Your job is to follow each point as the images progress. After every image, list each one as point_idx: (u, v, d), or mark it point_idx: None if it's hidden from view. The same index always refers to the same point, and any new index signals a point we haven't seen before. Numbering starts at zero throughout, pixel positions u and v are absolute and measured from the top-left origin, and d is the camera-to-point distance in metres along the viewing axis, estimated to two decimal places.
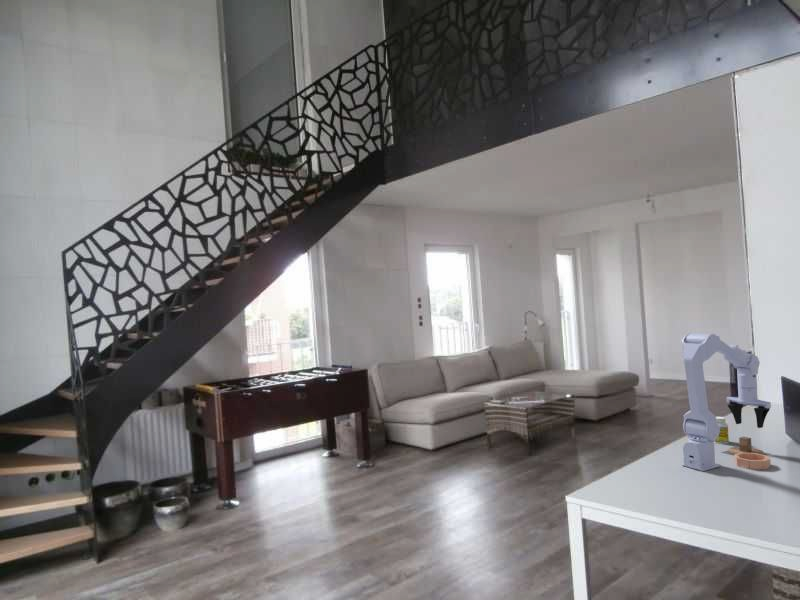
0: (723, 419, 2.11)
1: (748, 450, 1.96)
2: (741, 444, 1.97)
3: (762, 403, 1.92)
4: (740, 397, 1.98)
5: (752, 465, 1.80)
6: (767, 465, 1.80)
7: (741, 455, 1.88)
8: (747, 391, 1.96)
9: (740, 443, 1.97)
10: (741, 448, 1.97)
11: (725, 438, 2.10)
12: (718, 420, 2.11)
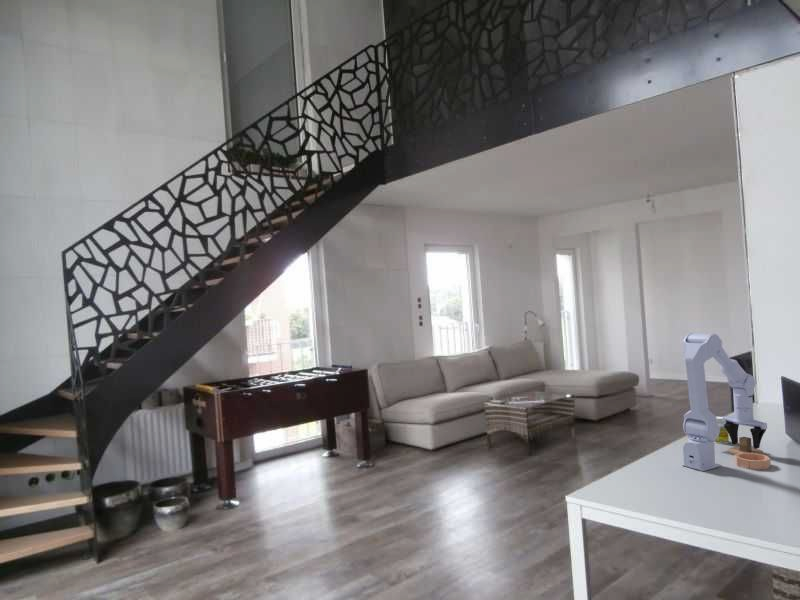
0: None
1: (748, 450, 1.96)
2: (741, 444, 1.97)
3: (758, 424, 1.91)
4: (736, 417, 1.97)
5: (752, 465, 1.80)
6: (767, 465, 1.80)
7: (741, 455, 1.88)
8: (743, 411, 1.94)
9: (740, 443, 1.97)
10: (741, 448, 1.97)
11: (725, 438, 2.10)
12: (718, 420, 2.11)
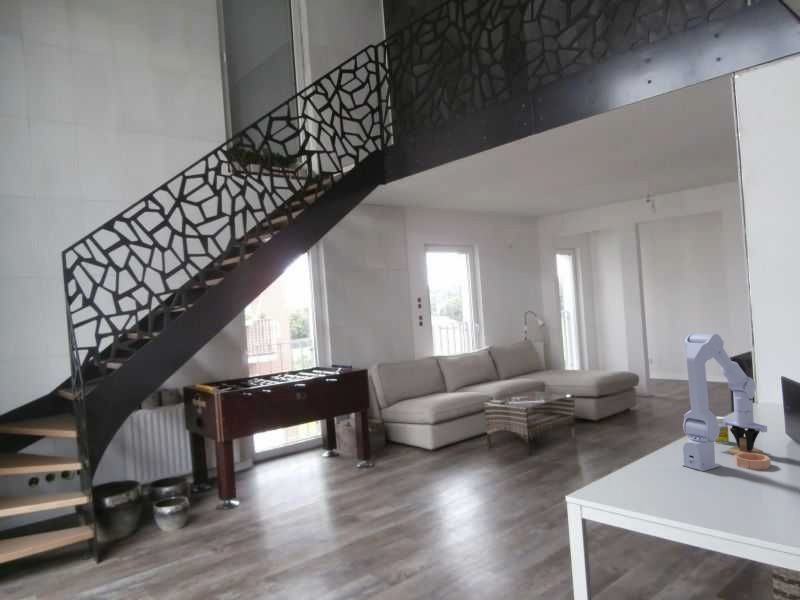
0: (723, 419, 2.11)
1: (748, 450, 1.96)
2: (741, 444, 1.97)
3: (758, 427, 1.91)
4: (736, 420, 1.97)
5: (752, 465, 1.80)
6: (767, 465, 1.80)
7: (741, 455, 1.88)
8: (743, 414, 1.94)
9: (740, 443, 1.97)
10: (741, 448, 1.97)
11: (725, 438, 2.10)
12: (718, 420, 2.11)
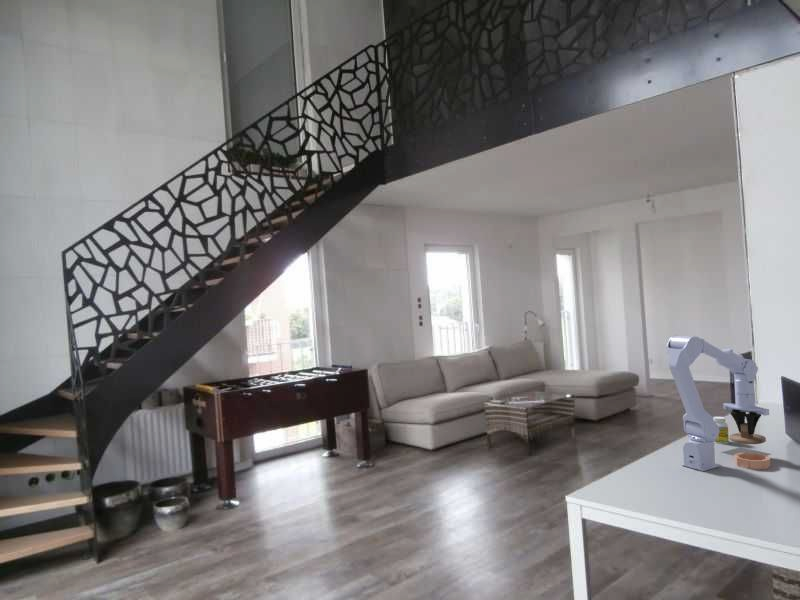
0: (723, 419, 2.11)
1: (750, 436, 1.90)
2: (742, 430, 1.92)
3: (760, 410, 1.86)
4: (737, 404, 1.91)
5: (752, 465, 1.80)
6: (767, 465, 1.80)
7: (741, 455, 1.88)
8: (745, 397, 1.89)
9: (741, 429, 1.92)
10: (742, 435, 1.92)
11: (725, 438, 2.10)
12: (718, 420, 2.11)
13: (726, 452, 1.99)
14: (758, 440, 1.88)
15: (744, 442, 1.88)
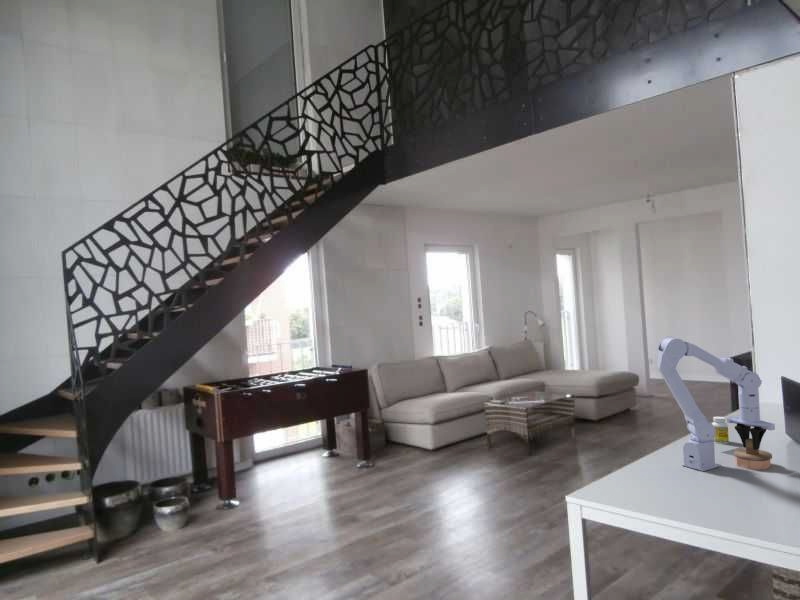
0: (723, 419, 2.11)
1: (755, 453, 1.83)
2: (748, 446, 1.84)
3: (765, 425, 1.78)
4: (741, 418, 1.84)
5: (752, 465, 1.80)
6: (767, 465, 1.80)
7: None
8: (749, 411, 1.82)
9: (746, 445, 1.84)
10: (748, 451, 1.84)
11: (725, 438, 2.10)
12: (718, 420, 2.11)
13: (726, 452, 1.99)
14: (764, 457, 1.80)
15: (749, 458, 1.80)
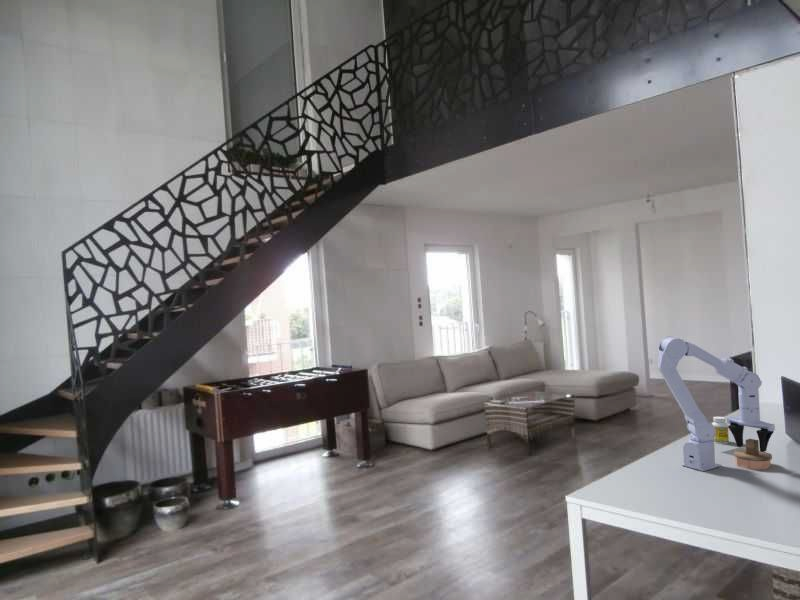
0: (723, 419, 2.11)
1: (755, 453, 1.83)
2: (748, 447, 1.84)
3: (765, 425, 1.78)
4: (741, 418, 1.84)
5: (752, 465, 1.80)
6: (767, 465, 1.80)
7: None
8: (749, 412, 1.82)
9: (747, 446, 1.84)
10: (748, 451, 1.84)
11: (725, 438, 2.10)
12: (718, 420, 2.11)
13: (726, 452, 1.99)
14: (764, 457, 1.80)
15: (749, 459, 1.80)
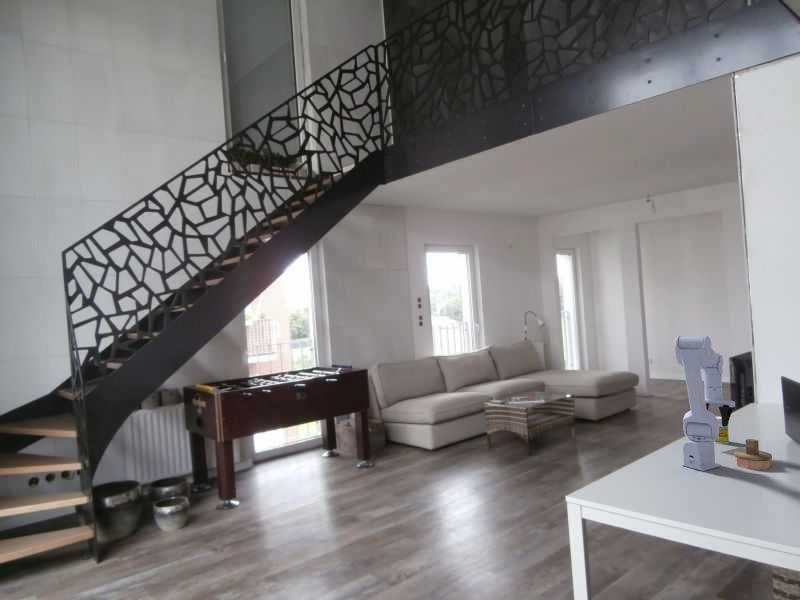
0: None
1: (755, 453, 1.83)
2: (748, 447, 1.84)
3: (726, 402, 1.96)
4: (706, 396, 2.01)
5: (752, 465, 1.80)
6: (767, 465, 1.80)
7: None
8: (712, 390, 1.99)
9: (747, 446, 1.84)
10: (748, 451, 1.84)
11: (725, 438, 2.10)
12: (718, 420, 2.11)
13: (726, 452, 1.99)
14: (764, 457, 1.80)
15: (749, 459, 1.80)
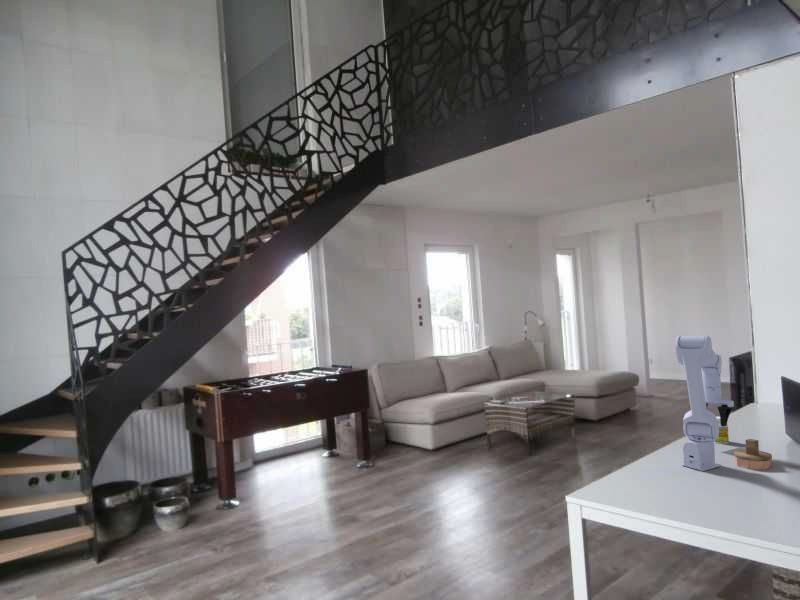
0: None
1: (755, 453, 1.83)
2: (748, 447, 1.84)
3: (725, 402, 1.96)
4: (705, 396, 2.02)
5: (752, 465, 1.80)
6: (767, 465, 1.80)
7: None
8: (711, 390, 1.99)
9: (747, 446, 1.84)
10: (748, 451, 1.84)
11: (725, 438, 2.10)
12: (718, 420, 2.11)
13: (726, 452, 1.99)
14: (764, 457, 1.80)
15: (749, 459, 1.80)
